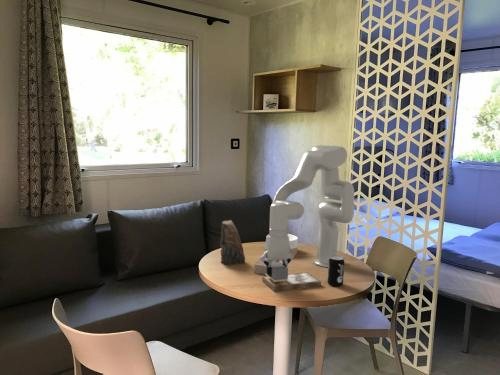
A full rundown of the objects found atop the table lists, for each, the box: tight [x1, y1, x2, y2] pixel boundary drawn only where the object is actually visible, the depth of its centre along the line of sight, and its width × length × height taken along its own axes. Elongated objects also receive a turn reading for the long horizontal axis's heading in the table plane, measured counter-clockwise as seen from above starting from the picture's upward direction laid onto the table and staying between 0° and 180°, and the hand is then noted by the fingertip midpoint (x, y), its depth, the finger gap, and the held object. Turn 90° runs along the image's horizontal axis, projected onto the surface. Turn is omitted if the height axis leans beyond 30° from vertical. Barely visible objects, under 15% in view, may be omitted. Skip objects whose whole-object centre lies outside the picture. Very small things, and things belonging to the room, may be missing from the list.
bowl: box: [266, 233, 299, 256], centre depth 215 cm, size 17×17×8 cm
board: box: [261, 271, 322, 293], centre depth 168 cm, size 22×12×2 cm, turn 111°
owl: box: [219, 219, 246, 266], centre depth 195 cm, size 13×13×20 cm
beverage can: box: [327, 255, 345, 288], centre depth 168 cm, size 7×7×12 cm
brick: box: [253, 258, 280, 276], centre depth 186 cm, size 17×8×5 cm, turn 162°
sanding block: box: [265, 261, 289, 282], centre depth 164 cm, size 6×9×5 cm, turn 21°
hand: (276, 274), depth 165 cm, fingers closed on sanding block, 6 cm apart
